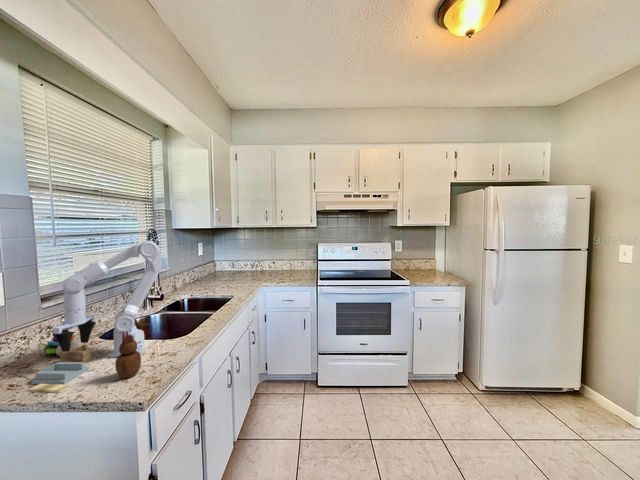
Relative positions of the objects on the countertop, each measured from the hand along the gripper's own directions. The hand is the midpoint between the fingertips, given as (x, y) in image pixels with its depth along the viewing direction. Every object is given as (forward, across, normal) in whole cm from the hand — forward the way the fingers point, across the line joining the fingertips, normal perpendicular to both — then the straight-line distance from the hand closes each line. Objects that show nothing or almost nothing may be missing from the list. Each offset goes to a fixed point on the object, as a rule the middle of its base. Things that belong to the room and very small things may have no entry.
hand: (75, 346), depth 100 cm
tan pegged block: (+6, 0, 0) cm, 6 cm away
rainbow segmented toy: (+6, -8, -13) cm, 16 cm away
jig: (+6, +10, +4) cm, 12 cm away
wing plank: (+6, +17, +7) cm, 19 cm away
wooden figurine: (+6, +9, +25) cm, 27 cm away
